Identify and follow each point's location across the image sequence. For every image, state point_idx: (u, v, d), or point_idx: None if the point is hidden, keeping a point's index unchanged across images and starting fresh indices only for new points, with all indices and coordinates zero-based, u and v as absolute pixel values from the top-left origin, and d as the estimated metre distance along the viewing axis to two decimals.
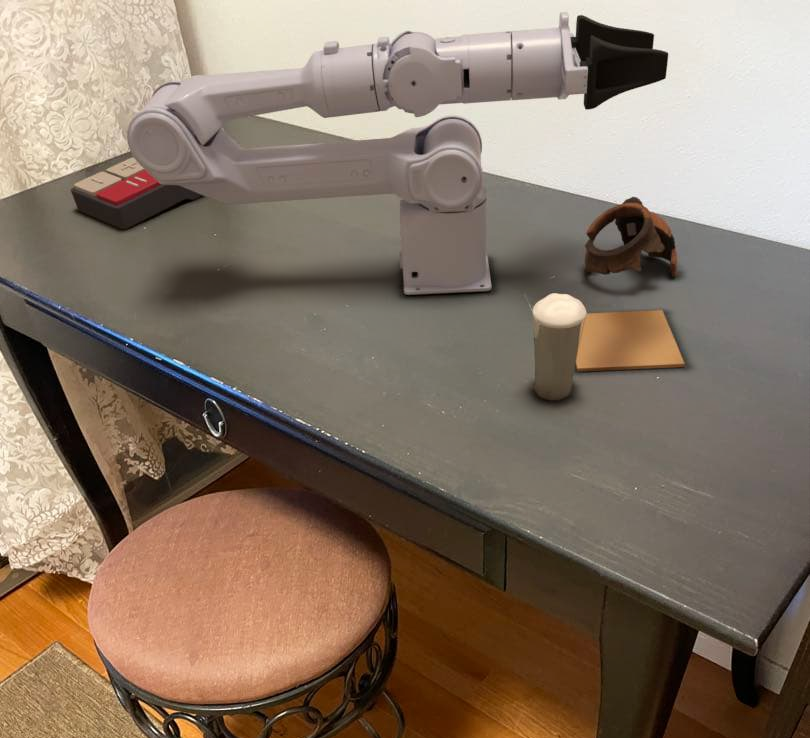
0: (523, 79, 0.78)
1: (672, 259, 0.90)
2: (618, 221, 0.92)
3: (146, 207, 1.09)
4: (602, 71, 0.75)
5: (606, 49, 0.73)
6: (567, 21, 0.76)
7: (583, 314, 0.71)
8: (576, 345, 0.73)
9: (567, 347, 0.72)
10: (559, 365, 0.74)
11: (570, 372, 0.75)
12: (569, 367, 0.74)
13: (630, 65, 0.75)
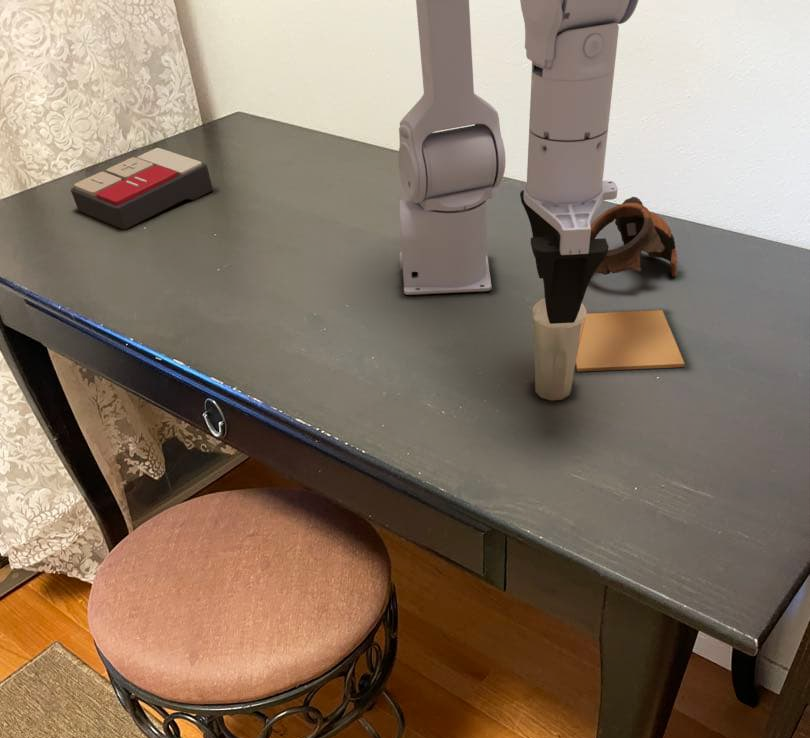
0: (565, 156, 0.60)
1: (672, 259, 0.90)
2: (618, 221, 0.92)
3: (146, 207, 1.09)
4: (567, 257, 0.64)
5: (597, 264, 0.63)
6: (611, 198, 0.64)
7: (583, 314, 0.71)
8: (576, 345, 0.73)
9: (567, 347, 0.72)
10: (559, 365, 0.74)
11: (570, 372, 0.75)
12: (569, 367, 0.74)
13: (569, 286, 0.66)
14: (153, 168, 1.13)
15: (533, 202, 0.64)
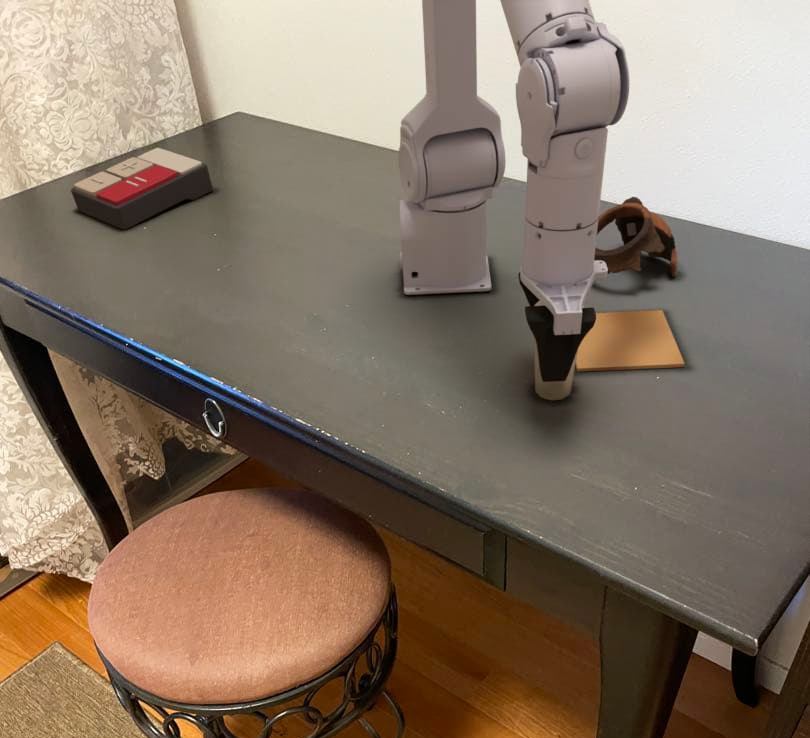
0: (558, 244, 0.65)
1: (672, 259, 0.90)
2: (618, 221, 0.92)
3: (146, 207, 1.09)
4: None
5: (586, 332, 0.69)
6: (602, 278, 0.69)
7: None
8: None
9: None
10: None
11: (570, 372, 0.75)
12: None
13: (560, 349, 0.71)
14: (153, 168, 1.13)
15: (529, 282, 0.68)
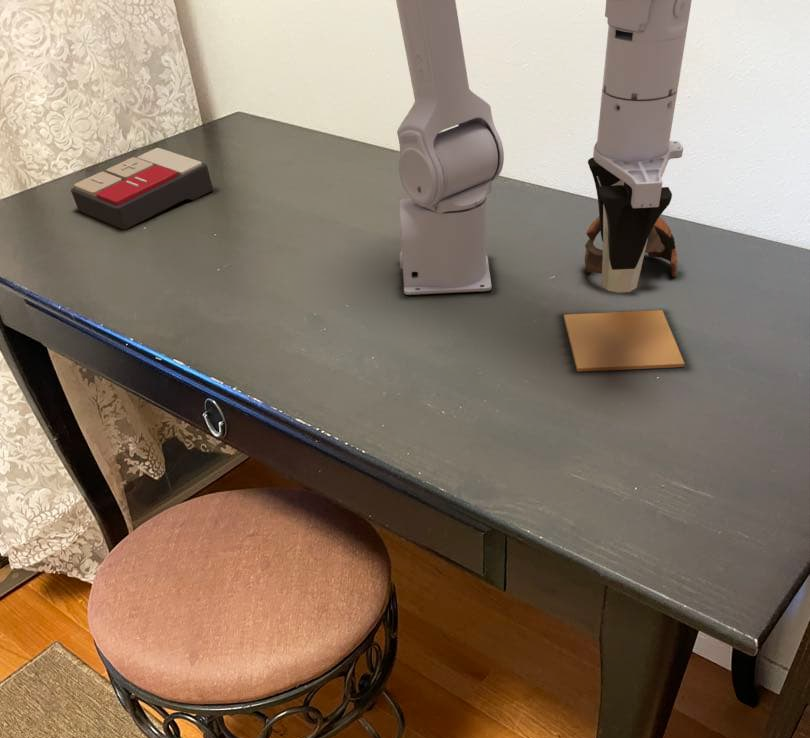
0: (638, 115, 0.64)
1: (672, 259, 0.90)
2: None
3: (146, 207, 1.09)
4: None
5: (660, 211, 0.68)
6: (677, 157, 0.68)
7: None
8: None
9: None
10: None
11: (639, 262, 0.74)
12: None
13: (632, 233, 0.71)
14: (153, 168, 1.13)
15: (604, 160, 0.68)
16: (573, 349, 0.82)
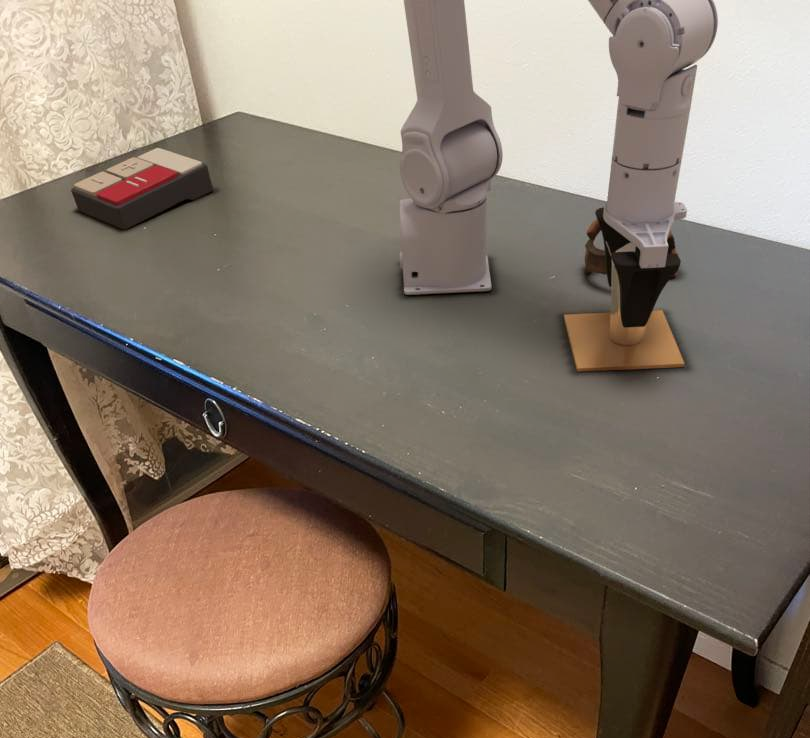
0: (645, 182, 0.70)
1: None
2: None
3: (147, 207, 1.09)
4: None
5: (670, 276, 0.72)
6: (681, 218, 0.73)
7: None
8: None
9: None
10: None
11: None
12: None
13: (643, 295, 0.75)
14: (153, 168, 1.13)
15: (614, 221, 0.73)
16: (573, 349, 0.82)
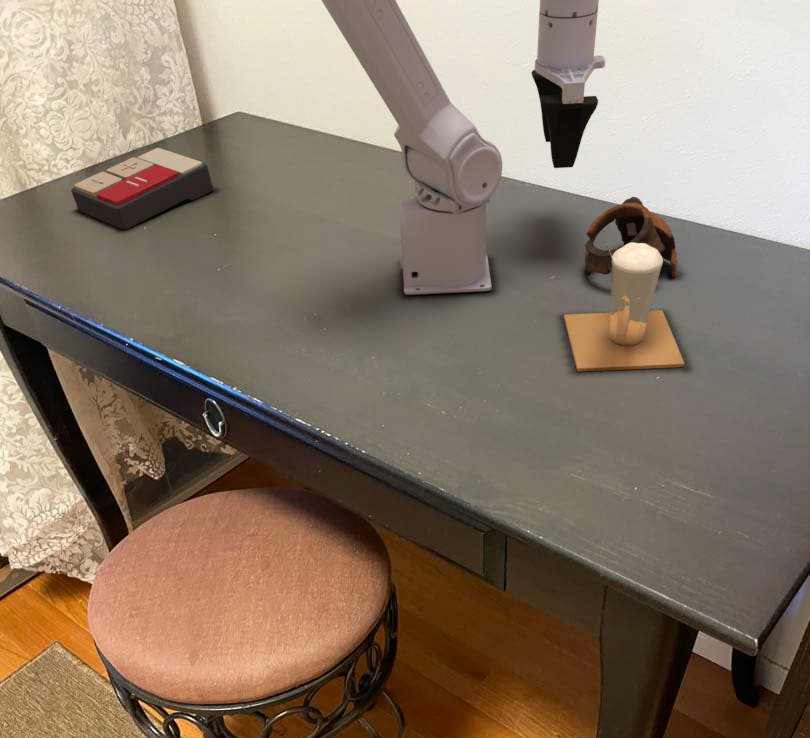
0: (566, 30, 0.82)
1: (672, 259, 0.90)
2: (618, 221, 0.92)
3: (147, 207, 1.09)
4: (568, 111, 0.86)
5: (589, 114, 0.85)
6: (600, 67, 0.86)
7: (660, 261, 0.76)
8: (652, 291, 0.78)
9: (644, 292, 0.77)
10: (635, 310, 0.79)
11: (644, 318, 0.80)
12: (644, 313, 0.79)
13: (569, 136, 0.87)
14: (153, 168, 1.13)
15: (542, 69, 0.85)
16: (573, 349, 0.82)
